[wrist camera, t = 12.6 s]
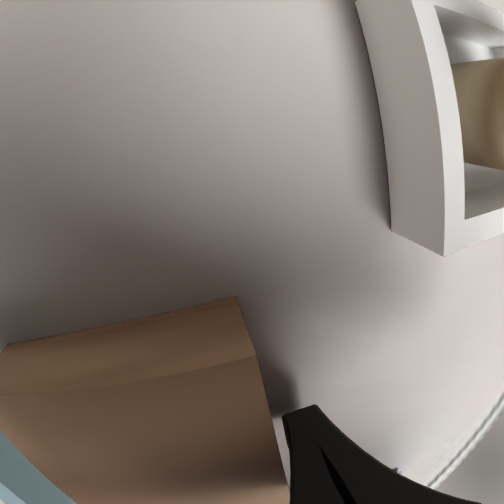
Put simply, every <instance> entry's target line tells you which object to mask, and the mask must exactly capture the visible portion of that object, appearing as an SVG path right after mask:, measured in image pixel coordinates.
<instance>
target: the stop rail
mask: <svg viewBox="0 0 504 504" xmlns="http://www.w3.org/2000/svg"><path fill="white" fill-rule="evenodd" d="M0 499H1V500H2V501H3V502H5V503H6V504H77V503H75V502H74V501H73V500H72V499H70V498H69V497H68V496H67V495H66V494H64V493H63V492H62V491H61V490H60V489H59V488H57V487H56V486H55V485H54V484H53V483H52V482H51V481H49V480H48V479H47V478H46V477H45V476H44V475H43V474H42V473H41V472H40V471H39V470H38V469H37V468H36V467H35V466H34V465H33V464H31V463H30V462H29V460H28V459H27V458H26V457H25V456H24V455H23V454H22V453H21V452H20V451H19V450H18V449H17V448H16V447H15V446H14V445H13V444H12V442H11V441H10V440H9V439H8V438H7V437H6V436H5V435H4V433H3V432H2V431H1V430H0Z"/></svg>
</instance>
